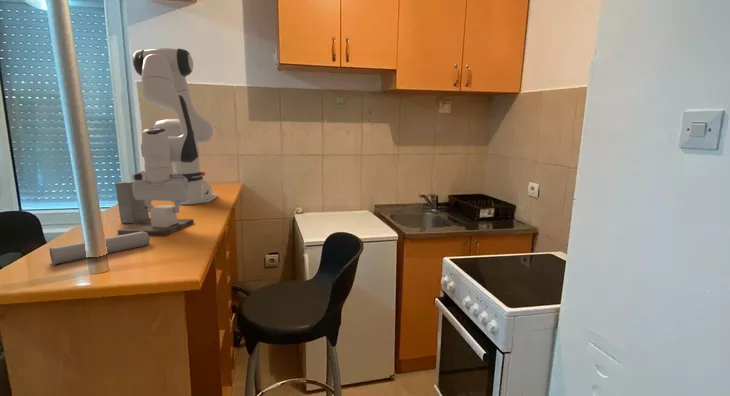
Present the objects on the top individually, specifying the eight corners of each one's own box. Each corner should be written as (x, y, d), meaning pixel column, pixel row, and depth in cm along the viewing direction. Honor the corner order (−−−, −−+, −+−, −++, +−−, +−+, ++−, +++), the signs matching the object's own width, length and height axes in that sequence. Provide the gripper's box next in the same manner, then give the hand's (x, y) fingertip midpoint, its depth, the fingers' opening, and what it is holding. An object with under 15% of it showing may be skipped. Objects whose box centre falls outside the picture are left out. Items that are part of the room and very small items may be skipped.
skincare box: (134, 224, 150) (129, 183, 146) (118, 223, 151) (113, 182, 148) (150, 218, 158) (146, 179, 154) (135, 217, 159) (130, 179, 156)
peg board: (150, 221, 153) (148, 205, 152) (193, 223, 150) (191, 206, 149) (118, 234, 136) (115, 216, 135) (165, 236, 134) (163, 217, 133)
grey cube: (162, 222, 146) (160, 205, 145) (177, 222, 145) (175, 205, 144) (151, 226, 140) (149, 209, 139) (167, 227, 139) (165, 209, 138)
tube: (145, 230, 128) (48, 248, 110) (150, 228, 124) (50, 246, 106) (149, 246, 128) (52, 266, 110) (153, 245, 124) (54, 265, 106)
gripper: (191, 173, 141) (195, 211, 144) (139, 172, 143) (144, 209, 147) (181, 176, 135) (185, 215, 138) (127, 175, 137) (132, 213, 140)
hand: (164, 212), depth 142 cm, fingers open, 8 cm apart
